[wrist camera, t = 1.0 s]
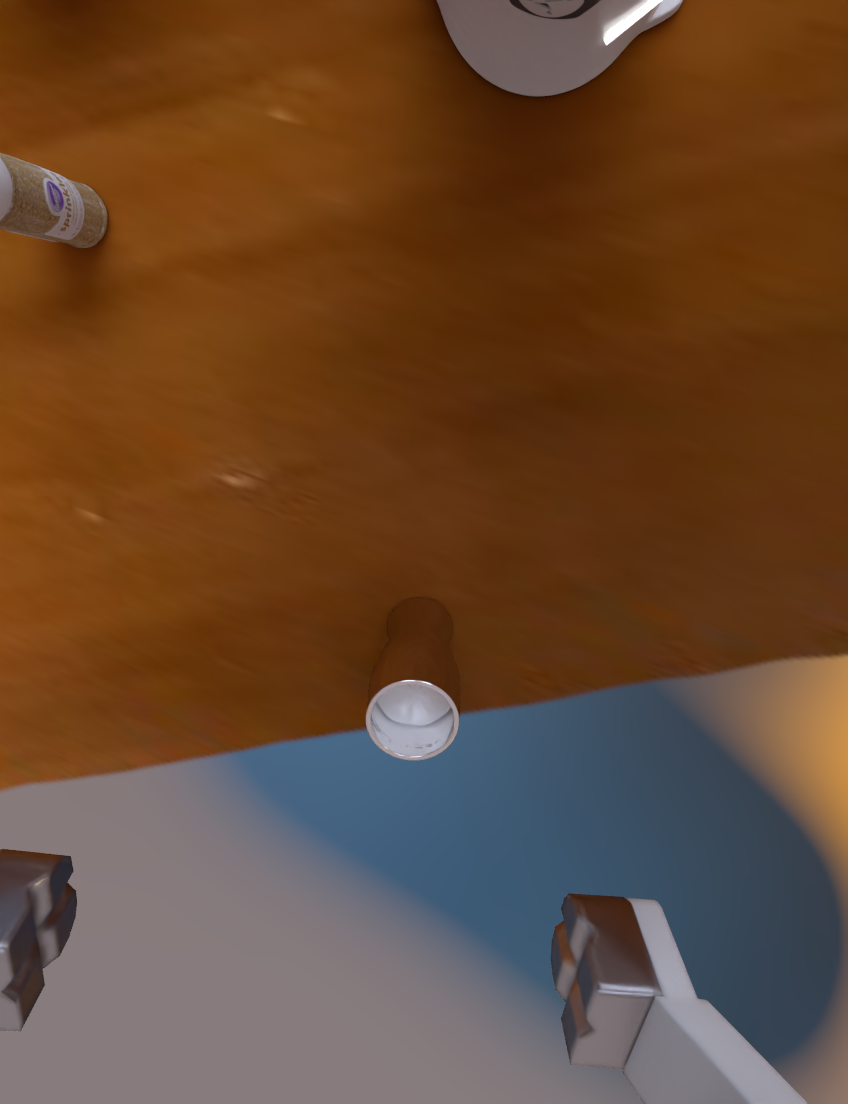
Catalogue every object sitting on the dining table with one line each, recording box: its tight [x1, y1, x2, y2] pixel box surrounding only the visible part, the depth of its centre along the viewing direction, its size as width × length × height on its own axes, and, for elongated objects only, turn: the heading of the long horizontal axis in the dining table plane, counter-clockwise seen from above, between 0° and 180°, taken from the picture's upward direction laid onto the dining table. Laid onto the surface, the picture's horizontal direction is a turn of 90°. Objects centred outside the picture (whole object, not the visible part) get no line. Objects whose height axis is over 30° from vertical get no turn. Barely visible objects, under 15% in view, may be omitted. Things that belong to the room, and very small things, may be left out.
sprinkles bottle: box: [0, 153, 108, 248], centre depth 42 cm, size 5×5×13 cm
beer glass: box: [366, 597, 461, 760], centre depth 52 cm, size 7×7×15 cm
